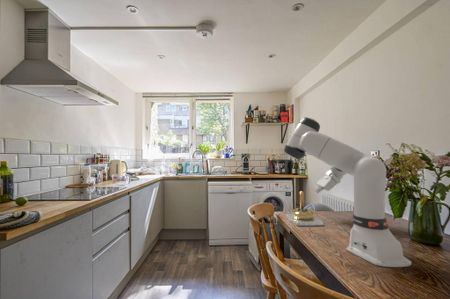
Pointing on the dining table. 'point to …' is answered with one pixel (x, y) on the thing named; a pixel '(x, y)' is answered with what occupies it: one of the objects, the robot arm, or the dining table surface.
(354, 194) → the robot arm
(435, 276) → the dining table surface
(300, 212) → the ring nut
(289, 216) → the cap plate
